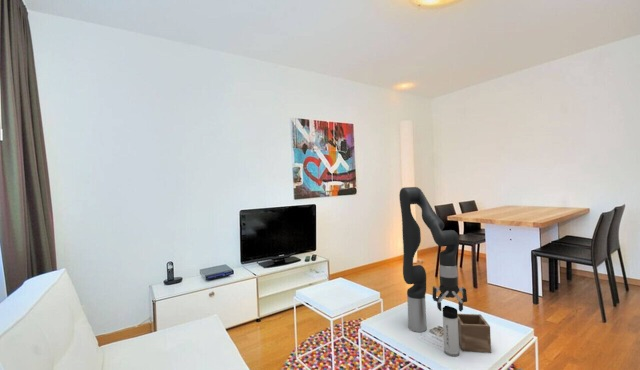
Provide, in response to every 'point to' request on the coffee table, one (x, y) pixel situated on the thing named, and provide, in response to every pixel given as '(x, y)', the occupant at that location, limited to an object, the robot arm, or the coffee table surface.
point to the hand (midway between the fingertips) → (450, 310)
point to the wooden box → (474, 333)
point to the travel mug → (450, 331)
